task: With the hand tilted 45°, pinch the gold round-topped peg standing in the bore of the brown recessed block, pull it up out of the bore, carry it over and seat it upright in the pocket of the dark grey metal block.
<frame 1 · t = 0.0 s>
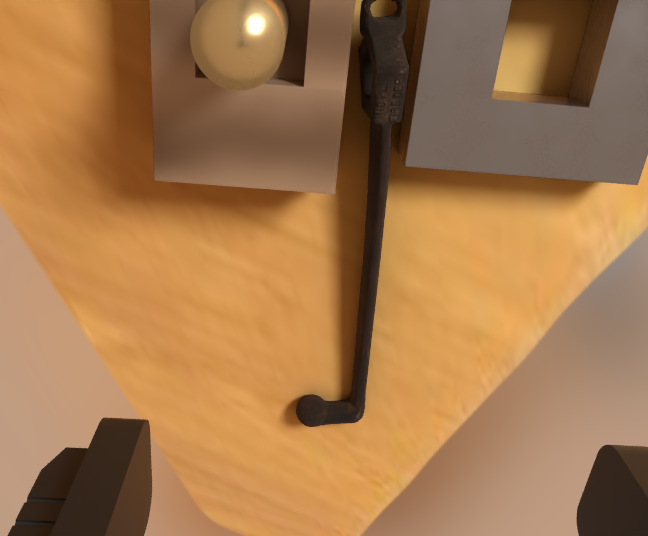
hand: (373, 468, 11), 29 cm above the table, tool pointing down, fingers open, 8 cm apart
wrench: (340, 232, 41), on the table
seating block: (534, 44, 36), on the table
gold round-topped peg: (254, 20, 33), point 2 cm above the table, touching brown recessed block
brown recessed block: (257, 17, 35), on the table
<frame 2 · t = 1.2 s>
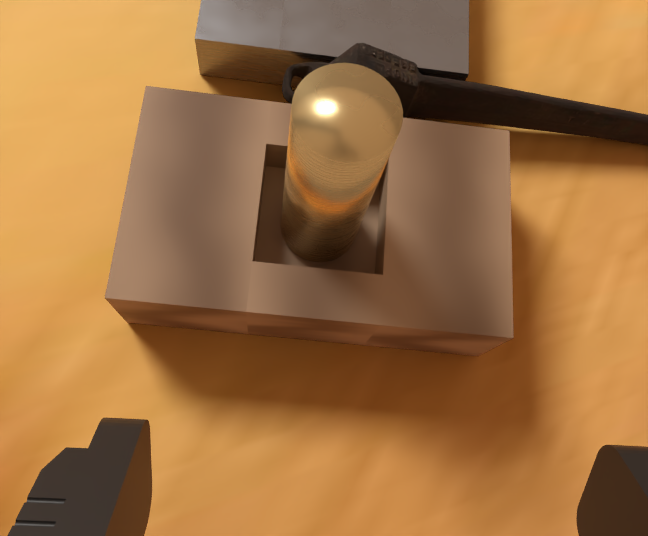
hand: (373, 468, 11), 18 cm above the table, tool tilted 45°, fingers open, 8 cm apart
wrench: (543, 165, 35), on the table
gold round-topped peg: (318, 226, 29), point 2 cm above the table, touching brown recessed block
brown recessed block: (314, 242, 31), on the table
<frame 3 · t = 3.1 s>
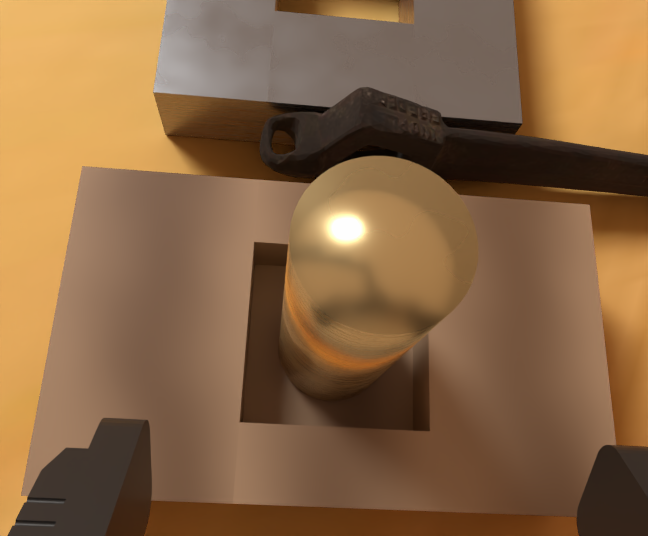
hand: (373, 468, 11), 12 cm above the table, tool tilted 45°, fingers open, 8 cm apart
wrench: (606, 236, 27), on the table
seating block: (338, 13, 28), on the table
gold round-topped peg: (331, 347, 21), point 2 cm above the table, touching brown recessed block
brown recessed block: (325, 359, 23), on the table
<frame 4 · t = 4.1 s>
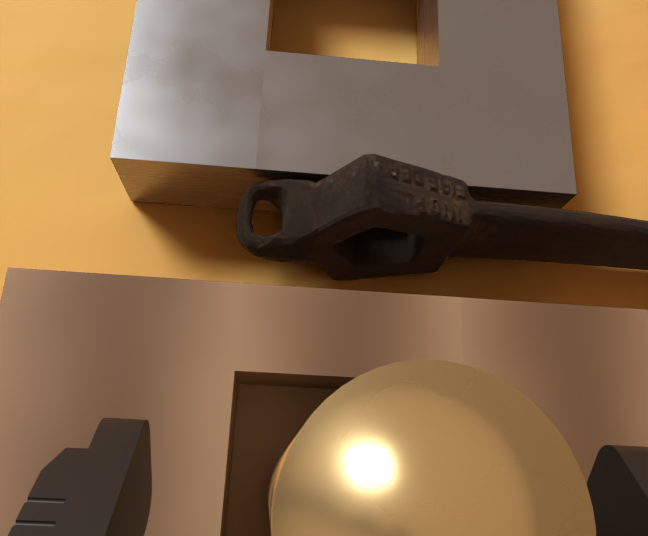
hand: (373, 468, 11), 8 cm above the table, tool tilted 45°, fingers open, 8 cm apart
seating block: (344, 47, 24), on the table
gold round-topped peg: (336, 497, 16), point 2 cm above the table, touching brown recessed block
brown recessed block: (328, 495, 18), on the table
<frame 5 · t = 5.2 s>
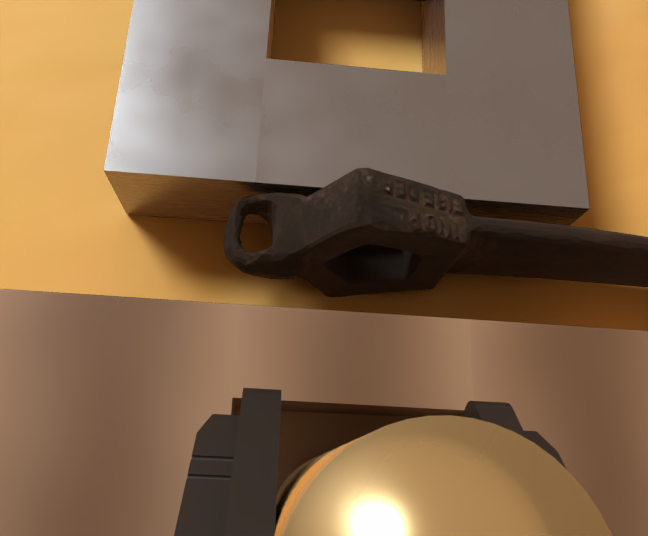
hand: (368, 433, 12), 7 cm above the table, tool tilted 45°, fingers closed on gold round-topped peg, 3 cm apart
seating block: (347, 54, 23), on the table
gold round-topped peg: (339, 528, 15), point 2 cm above the table, touching brown recessed block, gripper
brown recessed block: (330, 522, 18), on the table
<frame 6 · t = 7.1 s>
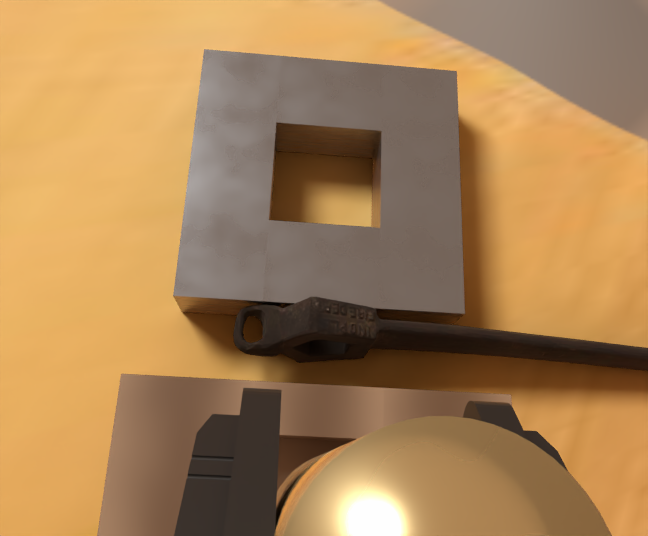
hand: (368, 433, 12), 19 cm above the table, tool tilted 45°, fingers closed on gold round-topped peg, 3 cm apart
wrench: (518, 390, 33), on the table
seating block: (322, 198, 35), on the table
gold round-topped peg: (339, 528, 15), point 15 cm above the table, touching gripper
brown recessed block: (308, 503, 30), on the table
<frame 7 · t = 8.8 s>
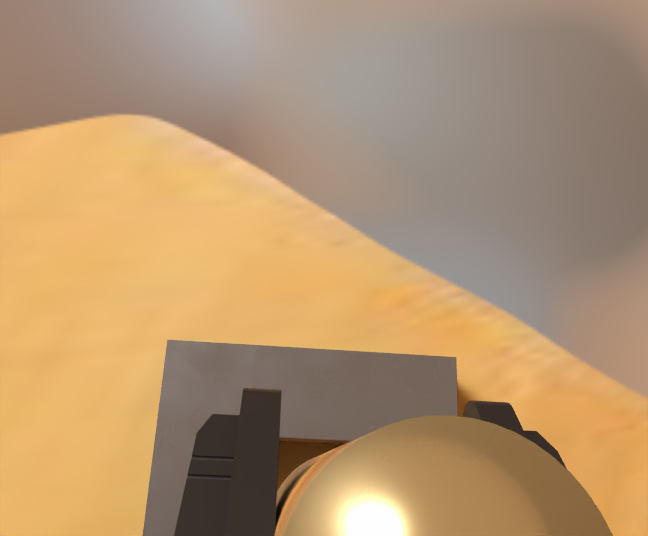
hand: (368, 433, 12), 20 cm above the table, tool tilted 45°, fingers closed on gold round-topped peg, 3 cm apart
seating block: (302, 500, 31), on the table
gold round-topped peg: (339, 527, 15), point 16 cm above the table, touching gripper
when the fingers open (6 cm above the table, at t = 12.1 s): gold round-topped peg drops 1 cm, resting in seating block.
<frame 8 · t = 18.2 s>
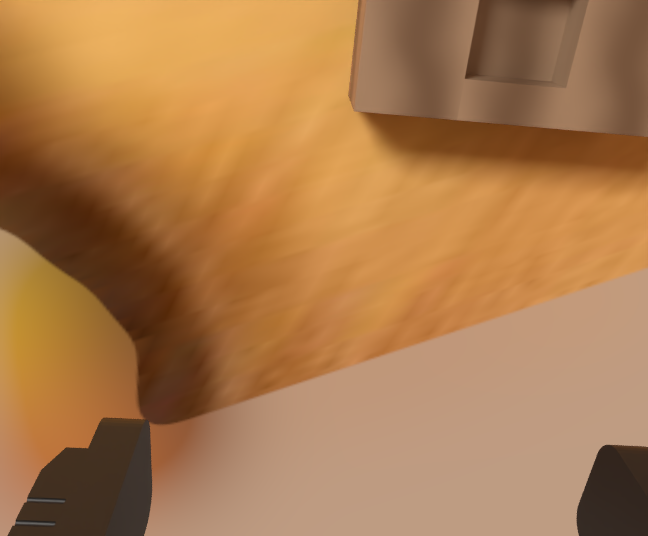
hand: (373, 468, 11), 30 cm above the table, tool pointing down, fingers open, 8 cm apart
brown recessed block: (502, 21, 36), on the table
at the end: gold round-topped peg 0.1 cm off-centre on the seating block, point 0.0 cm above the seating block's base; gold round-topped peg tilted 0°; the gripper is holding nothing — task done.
